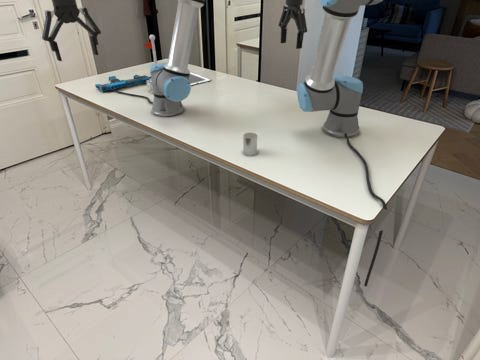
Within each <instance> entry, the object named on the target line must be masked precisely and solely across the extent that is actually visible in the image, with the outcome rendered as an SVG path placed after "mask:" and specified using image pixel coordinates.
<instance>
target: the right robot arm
mask: <svg viewBox="0 0 480 360" xmlns="http://www.w3.org/2000/svg"><path fill="white" fill-rule="evenodd" d="M383 1H384V0H319V2H320V4H321V6H322V11H323V13H324V14H325V15H324V17H323V22H322V26H321V30H320V34H319V38H318V41H317V46H316V50H315V54H314V58H313V62H312V66H311V71H310V73H308V74H307V75H306V76H305V78H304V82H300V83H298V85H297V88H296V97H297V102H298V106H299V108H300V109H301V111H303V112H305V113H308V112H309V113H314V112H324V111H329V112H328V115H327V117H326V120H325V121H324V123H323V126H322V130H323V132H324V133H325V134H326V135H329V136H332V137H335V138H339V139H341V138H342V139H345V140H346V143H347V145H348V147H349V148H350V149H351V150H352V151H353V152H354V153H355V154H356V156H358V157H359V159H360V160H361V162H362V163H363V166H364V170H365V176H366V184H367V188H368V192H369V193H370V195H371V196H372V197H373V198H375V199H376V200H378V201H379V202H380V203H381V205H382V207H383V209H384V210H387V209H388V207H387V204H386V201H385V200H384V199H383V198H382V197H380V196H378V195H377V194H375V192H374V190H373V189H372V185H371V179H370V172H369V167H368V164H367V161H366V159H365V158H364V157H363V155H361V153H360V152H359V151H358V150H357V149H356V148H355V147H354V146H353V145H352V143H351V142H350V140H349V138H354V137H356V136H357V135H359V132H360V125H359V118H358V117H359V116H358V114H359V111H360V110H359V109H360V105H361V100H362V95H363V90H364V83H363V81H362V80H360V79H359V78H356V77H353V76H348V75H340V74H339V75H336V76H335V77H334V74H335V71H336V68H337V65H338V63H339V59H340V55H341V52H342V49H343V45H344V43H345V40H346V36H347V33H348V30H349V27H350V23H351V20H352V19H353V18H355V17H356V16H357V15H358V13H359V10H360V8H361V6H362V7H363V6H372V5H377V4H379V3H381V2H383ZM303 3H304V0H285V5H283V7H282V12H281V15H280V19H279V22H278V27H279V28H280V44H285V43H287V33H288V25H289V23H290V22H291V19H292V20H294V22H295V25H296V29H297V31H298V32H297V34H296V35H297V36H296V45H295V48H296V50H299V49H300V50H301V49H303V43H304V35H305V33H308V27H307V26H308V25H307V20H306V15H305V14H306V13H305V12H306V9H305V8H301V6H302V5H303ZM333 77H334V78H333ZM383 232H384V230H383V229H382V230H380V231H378V236H377V241H376V244H375V248H374V252H373V255H372V258H371V262H370V264H369V268H368V271H367V274H366V278H365V281H364V284H363V286H364V287H367V286H368V284H369V280H370V277H371V274H372V271H373V268H374V265H375V261H376V259H377V255H378V252H379V248H380V244H381V241H382V237H383Z"/></svg>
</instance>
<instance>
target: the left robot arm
mask: <svg viewBox="0 0 480 360" xmlns="http://www.w3.org/2000/svg"><path fill="white" fill-rule="evenodd" d="M205 1H206V0H177V8H176V14H175V19H174V24H173V31H172V37H171V43H170V49H169V54H168V59H167V62H161V63H157V64H154V63H153V64H151V65H150V67H149V74H150V77H151V80H152V87H153V93H152V94H153V100H152V101H151V100H150V98H149V97H148V96H145V95H139V94H134V93H128V92H123V91H120V90H117V89H114V91H113V92H116V93H119V94H121V95H127V96H132V97H138V98H143V99H146V100H147V101H148V103H149V104H152V106H151V111H152V114H153V115H154V116H157V117H174V116H177V115H180V114H181V113H183V112H184V105H183V103H182V101H184V100H185V99H187V98H188V97H189V96H190V94H191V89H192V85H191V86H190V82H189V81H188V80H189V75H190V72H191V71H190V70H189V68H188V67H189V61H190V57H191V53H192V52H191V51H192V47H193V42H194V36H195V33H196V32H195V31H196V27H197V22H198V18H199V17H198V16H199V11H200V9H201V8H202V7H204V6H205ZM51 2H52V6H53V10H48V9H45V10H44V15H45V18H44V19H45V20H44V24H43V30H42V35H41V39H42V40H43V41H45V42H48V43H49V47H50V50H51V51H52V52H54V53H55V56H56V60H57V61H59V62H62V61H63V59H62V56H61V52H60V49H59V45H58V42H57V41H55V40H56V38H57V36H58V33H59V32H60V30H61V28H62V26H63V25H64V24H65V25H67V24H70V23H73V24H75V23H77V24H78V25H80V26H81V27H82V28H83V29H84V30H85V31H87V32H88V33H89V34H90V35H89V40H90V43H91V48H92V52H93V53H92V54H93V55H95V56H99V51H98V46H99V41H98V35H101V34H102V31H101V30H100V28H99V27H98V25H97V24H96V22H95V21H94V19H93V18H92V17H91V15H90V13H89V11H88V8H87V7H84V6H81V8H78V5H77V0H51ZM80 14H81V15H82V16H83V17H84V18H85V20H86V21H87V22H88V24H89V25H90V26H89V25H88V24H86V23H85V22H84V21H83V20H82V19H81V18H80V17H79V16H80ZM54 16H55V17H56V20H55V24H54V25H53V28H52V29H51V25H52V21H53V18H54ZM50 31H51V32H50Z"/></svg>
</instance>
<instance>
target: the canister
mask: <svg viewBox="0 0 480 360" xmlns="http://www.w3.org/2000/svg"><path fill="white" fill-rule="evenodd" d="M242 138H243V142H242V145H243V146H242V147H243V148H242V149H243V150H242V153H243V155H245V156H250V157H251V156H255V155H257V153H258V134H257V133H255V132H245V133H244V134H243V137H242Z"/></svg>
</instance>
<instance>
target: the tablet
mask: <svg viewBox="0 0 480 360" xmlns="http://www.w3.org/2000/svg"><path fill="white" fill-rule="evenodd" d="M188 81H189V82H190V86H191V87H192V86H195V85H199V84H204V83H207V82H212V79H210V78H207V77H204V76H201V75H199V74H197V73H193V72H192V71H190V75H189V80H188Z"/></svg>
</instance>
